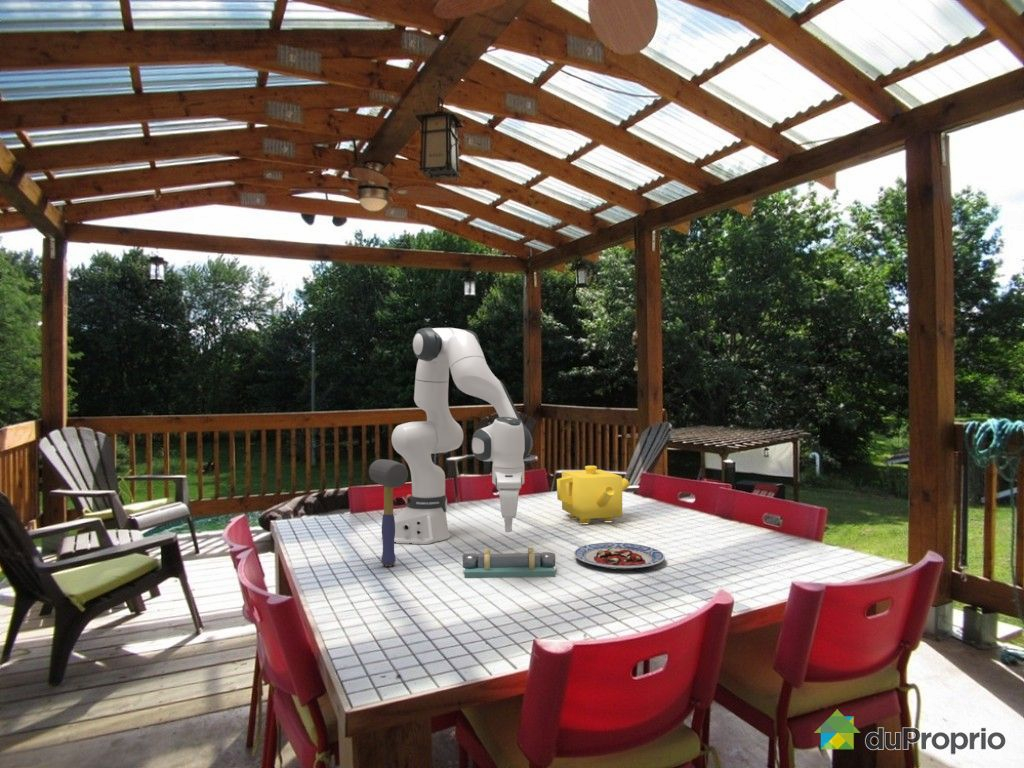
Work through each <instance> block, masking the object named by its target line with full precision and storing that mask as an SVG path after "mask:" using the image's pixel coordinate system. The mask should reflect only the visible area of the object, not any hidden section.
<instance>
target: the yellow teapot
mask: <svg viewBox="0 0 1024 768" xmlns="http://www.w3.org/2000/svg"><path fill="white" fill-rule="evenodd" d="M630 486H631V482H629V480H628V479H626V478H625V477H622V475H619V474H616V473H612V472H609V471H606V470H603V469H598V466H597V465H585V466H584V470H566V471H565V470H563V471H561V477H559V478H556V495H557V497H556V498H557V500H558V501H560V502H561V510H563V511H565V512H567V514H570V515H569V517H570V518H569V519H572V518H578V519H579V521H578V523H579V522H580V523H590V524H591V519H592V520H593V519H602V520H604V521H613V520H614V518H619V517H620V518H621V517H623V492H624V491H626V490H627V489H628V488H629V487H630ZM604 521H603V522H604ZM580 523H579V524H580Z"/></svg>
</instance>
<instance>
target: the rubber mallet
mask: <svg viewBox="0 0 1024 768" xmlns="http://www.w3.org/2000/svg"><path fill="white" fill-rule="evenodd" d="M368 475H369V478H370V480H372V481H373V482H374V483H376V484H379V485H380V486H383V514H382V519H381V540H382V539H383V541H382V553H381V558H380V559H381V560H380V562H381V563H382V565H383V566H384V565H385V566H384V567H387V566H389V567H392V565H393V566H395V563H396V561H397V559H396V553H395V543H394V538H395V520H394V517H395V515H394V489H396V488H401V487H402V486H404V485H405V483H406V482H407V480H408V478H409V472H408V469H407V467H406V466H405V464H403V463H400V462H398V461H395V460H392V459H384V458H382V459H381V458H380V459H376V460H374V461H373V462H372V463H371V464H370V465H369V468H368Z"/></svg>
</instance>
